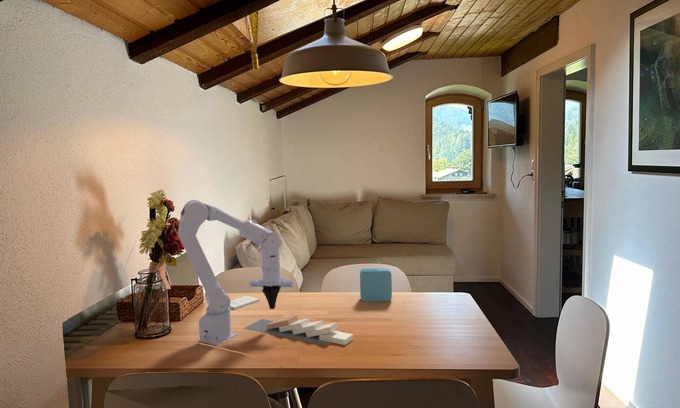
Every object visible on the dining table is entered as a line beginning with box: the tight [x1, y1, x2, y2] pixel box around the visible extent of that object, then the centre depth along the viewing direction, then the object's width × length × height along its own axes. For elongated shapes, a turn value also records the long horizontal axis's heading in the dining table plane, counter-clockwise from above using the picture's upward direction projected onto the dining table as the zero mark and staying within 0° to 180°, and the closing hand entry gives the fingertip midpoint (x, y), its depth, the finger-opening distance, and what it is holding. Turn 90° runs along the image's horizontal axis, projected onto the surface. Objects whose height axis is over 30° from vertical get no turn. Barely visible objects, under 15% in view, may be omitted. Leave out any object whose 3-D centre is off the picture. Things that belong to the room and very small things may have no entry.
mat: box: [243, 318, 332, 346], centre depth 152 cm, size 10×32×1 cm, turn 61°
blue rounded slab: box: [359, 268, 393, 303], centre depth 184 cm, size 12×4×12 cm, turn 89°
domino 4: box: [306, 321, 340, 337], centre depth 147 cm, size 5×2×9 cm
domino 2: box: [279, 317, 312, 332], centre depth 152 cm, size 5×2×9 cm
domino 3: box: [292, 319, 325, 335], centre depth 149 cm, size 5×2×9 cm
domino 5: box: [319, 330, 354, 346], centre depth 144 cm, size 5×2×9 cm
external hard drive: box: [229, 295, 260, 310], centre depth 184 cm, size 2×8×12 cm
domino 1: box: [267, 315, 299, 330], centre depth 154 cm, size 5×2×9 cm
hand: (272, 308), depth 155 cm, fingers closed
